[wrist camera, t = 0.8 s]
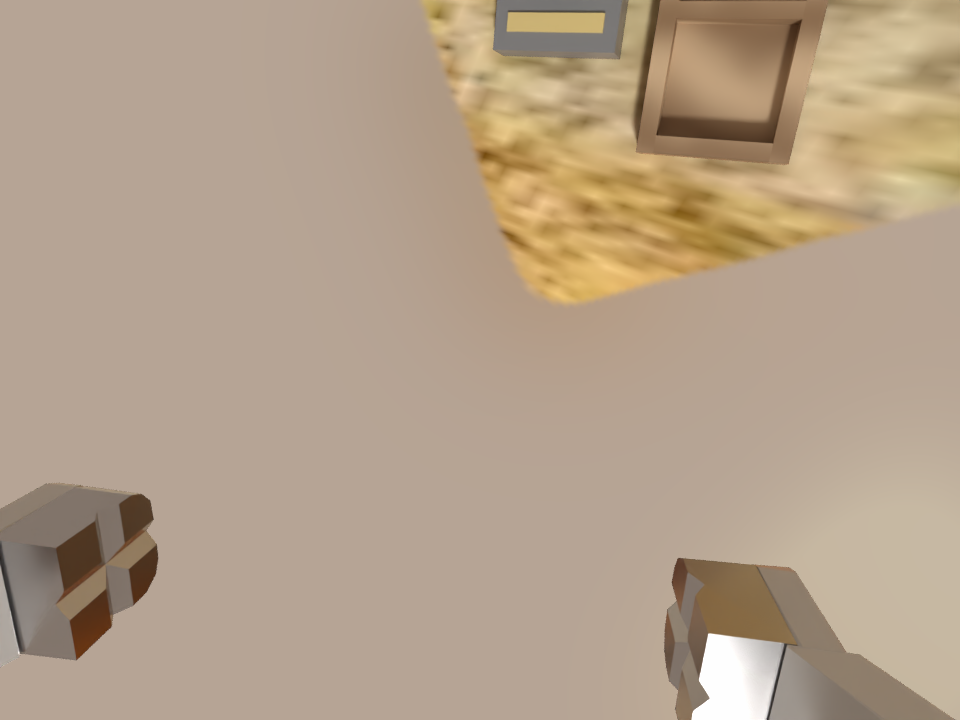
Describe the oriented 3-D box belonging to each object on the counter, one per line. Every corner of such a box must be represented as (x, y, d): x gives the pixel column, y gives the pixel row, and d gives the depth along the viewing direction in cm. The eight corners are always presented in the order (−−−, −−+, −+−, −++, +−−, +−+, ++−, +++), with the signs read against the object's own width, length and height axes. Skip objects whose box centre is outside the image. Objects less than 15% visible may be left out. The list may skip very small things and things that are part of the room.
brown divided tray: (687, -140, 38) (685, -157, 36) (861, -153, 35) (870, -172, 33) (639, 153, 44) (636, 152, 42) (784, 164, 41) (788, 164, 39)
